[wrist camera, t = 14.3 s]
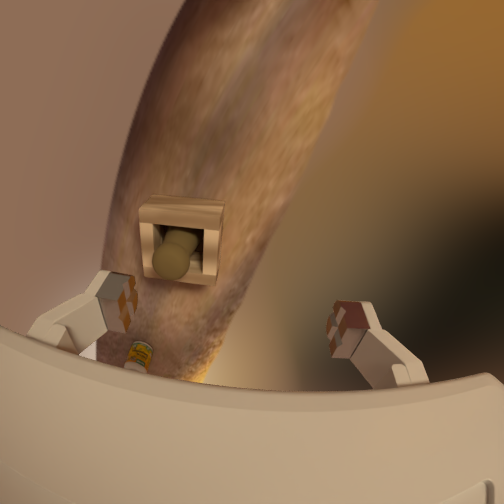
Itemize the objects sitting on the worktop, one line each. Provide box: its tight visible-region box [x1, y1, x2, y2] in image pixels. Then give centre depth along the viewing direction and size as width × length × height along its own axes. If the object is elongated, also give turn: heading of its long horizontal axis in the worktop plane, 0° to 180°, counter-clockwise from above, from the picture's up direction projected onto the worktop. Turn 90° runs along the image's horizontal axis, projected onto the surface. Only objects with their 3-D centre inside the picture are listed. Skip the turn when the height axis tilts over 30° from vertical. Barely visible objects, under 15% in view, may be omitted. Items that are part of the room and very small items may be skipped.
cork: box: [152, 225, 204, 280], centre depth 40 cm, size 6×6×11 cm
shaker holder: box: [139, 194, 225, 286], centre depth 42 cm, size 11×11×6 cm
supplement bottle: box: [124, 341, 153, 373], centre depth 56 cm, size 5×5×10 cm
